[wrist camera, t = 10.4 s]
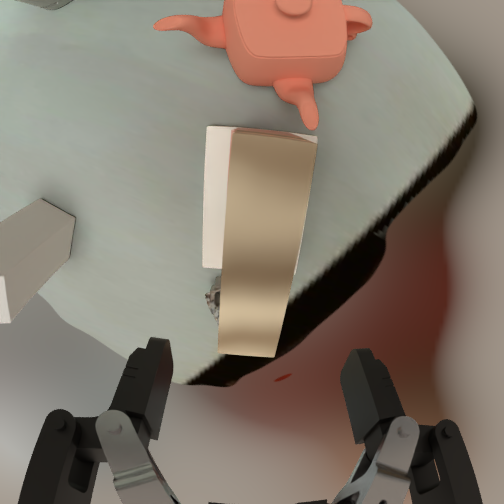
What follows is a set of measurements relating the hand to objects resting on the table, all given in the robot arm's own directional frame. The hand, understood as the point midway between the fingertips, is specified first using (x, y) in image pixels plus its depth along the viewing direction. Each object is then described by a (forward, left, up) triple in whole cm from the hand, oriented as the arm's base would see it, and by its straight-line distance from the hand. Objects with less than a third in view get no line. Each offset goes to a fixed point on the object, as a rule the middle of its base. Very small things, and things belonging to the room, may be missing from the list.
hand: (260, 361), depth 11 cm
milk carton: (+5, -28, -22) cm, 36 cm away
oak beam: (0, 0, -12) cm, 12 cm away
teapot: (-18, 0, -22) cm, 28 cm away
